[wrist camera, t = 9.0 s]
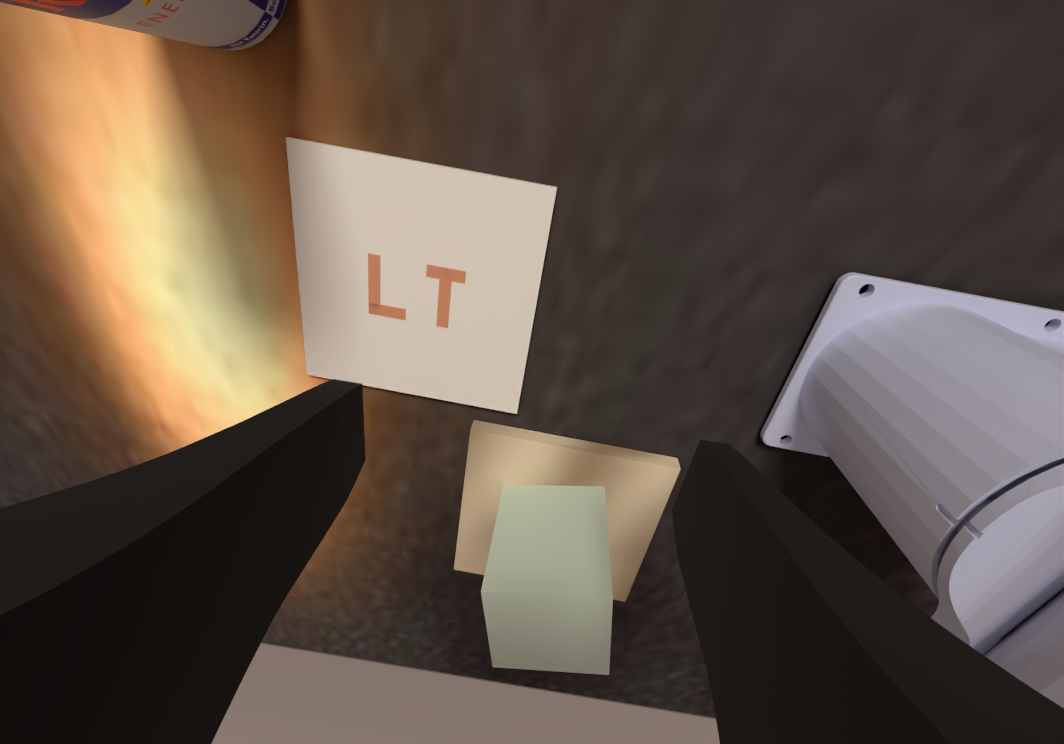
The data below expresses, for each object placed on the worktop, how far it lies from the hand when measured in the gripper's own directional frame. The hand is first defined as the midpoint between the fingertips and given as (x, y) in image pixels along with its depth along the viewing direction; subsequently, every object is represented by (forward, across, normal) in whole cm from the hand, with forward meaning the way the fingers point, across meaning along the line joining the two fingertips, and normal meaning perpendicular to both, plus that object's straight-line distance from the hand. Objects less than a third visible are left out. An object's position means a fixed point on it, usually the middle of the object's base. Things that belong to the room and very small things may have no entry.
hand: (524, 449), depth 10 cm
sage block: (+9, -2, +12) cm, 15 cm away
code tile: (+10, +5, +1) cm, 12 cm away
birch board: (+10, -2, +12) cm, 16 cm away
